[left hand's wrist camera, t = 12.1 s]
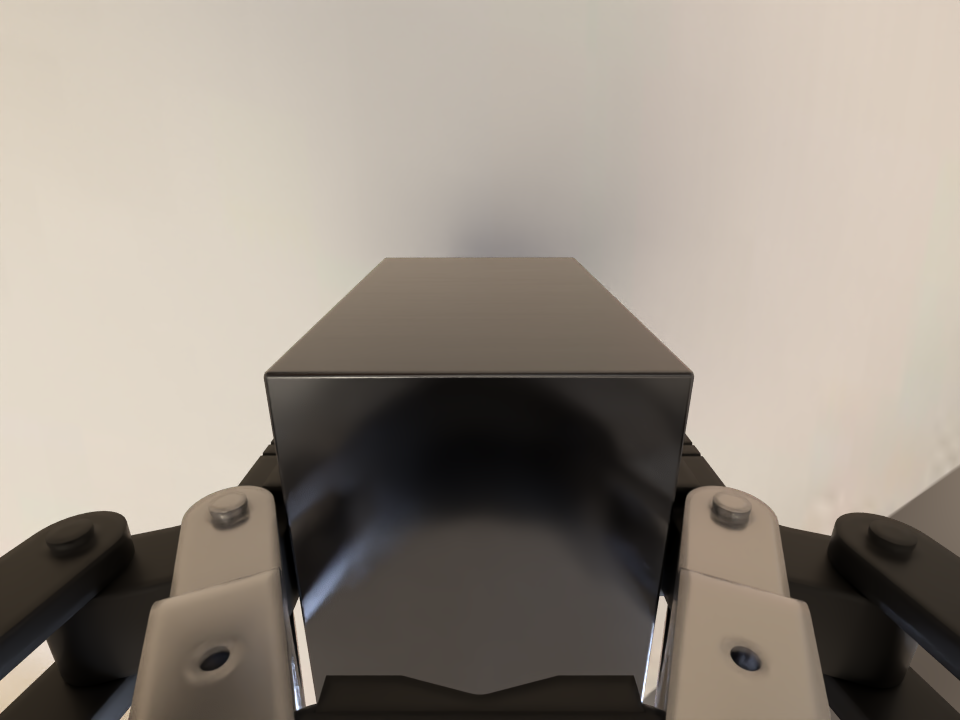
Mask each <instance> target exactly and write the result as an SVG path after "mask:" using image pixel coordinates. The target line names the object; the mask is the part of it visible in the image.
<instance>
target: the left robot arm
mask: <svg viewBox="0 0 960 720" xmlns="http://www.w3.org/2000/svg"><path fill="white" fill-rule="evenodd" d="M659 596H664V597H665V599H666V602H667V604H668V606H667V612H666V617H665V624H664V632H663V640H662V648H661V656H660V664H659V672H658V680H657V689H656V697H655V705H654V707H653V706H650V705H646V704H643V703H642V701H641V697H640V694H639V691H638V687H637V684H636V681H635V677H634V675H558V676H554V677H550V678H546V679H542V680H538V681H535V682H531V683H527V684H523V685H519V686H515V687H511V688H508V689H504V690H500V691H496V692H492V693H488V694H472V693H468V692H464V691H460V690H456V689H452V688H449V687H445V686H441V685H437V684H433V683H429V682H425V681H422V680H418V679H414V678H410V677H406V676H402V675H326V677H325V681H324V684H323V687H322V691H321V694H320V697H319V701H318V703H317V704H314V705H310V706H307V707H306V705H305V697H304V689H303V680H302V672H301V664H300V656H299V648H298V640H297V632H296V624H295V617H294V612H293V610H294V607H295V605H296V603H297V600H298V598H299V591H298V585H297V579H296V573H295V566H294V560H293V554H292V548H291V542H290V536H289V530H288V523H287V517H286V511H285V505H284V499H283V493H282V487H281V480H280V474H279V468H278V462H277V456H276V450H275V443H274V439H273V440H272V441H271V445H268V447H267V448H266V449H265V451H264V452H263V456H260V457H259V459H258V460H257V461H256V463H255V464H254V465H253V467H252V468H251V469H250V471H249V472H248V473H247V475H246V476H245V477H244V479H243V480H242V481H241V483H240V484H239V485H238V486H237V487H231V488H227V489H223V490H220V491H217V492H214V493H212V494H210V495H208V496H206V497H204V498H202V499H201V500H199V501H198V502H196V503H195V504H194V505H192V506H191V507H190V508H189V509H188V511H187V512H186V513H185V515H184V516H183V519H182V523H181V525H180V526H175V527H171V528H166V529H161V530H156V531H151V532H146V533H141V534H136V535H131V534H130V531H129V527H128V524H127V521H126V519H125V517H124V516H122V515H121V514H119V513H116V512H111V511H96V512H89V513H84V514H80V515H76V516H73V517H69V518H67V519H64V520H61V521H59V522H56V523H54V524H52V525H50V526H48V527H46V528H44V529H42V530H41V531H39V532H37V533H36V534H34V535H33V536H31V537H30V538H28V539H27V540H25V541H24V542H22V543H21V544H20V545H18V546H17V547H15V548H14V549H12V550H11V551H9V552H8V553H6V554H5V555H3V556H2V557H0V680H2V679H3V678H4V677H5V676H6V675H7V674H8V673H9V672H10V671H12V670H13V669H14V668H15V667H16V666H17V665H18V664H19V663H21V662H22V661H23V660H24V659H25V658H26V657H27V656H28V655H29V654H31V653H32V652H33V651H34V650H35V649H36V648H37V647H38V646H40V645H41V644H42V643H43V642H44V641H45V640H47V643H48V645H49V648H50V650H51V652H52V655H53V657H54V660H55V662H54V663H53V664H52V665H51V666H50V667H49V668H48V669H47V670H46V671H45V672H44V673H43V674H42V675H41V676H40V677H39V678H37V679H36V680H35V681H34V682H33V683H32V684H31V685H30V686H29V687H28V688H27V689H26V690H25V691H24V692H23V693H22V694H21V695H20V696H19V697H18V698H16V699H15V700H14V701H13V702H12V703H11V704H10V705H9V706H8V707H7V708H6V709H5V710H4V711H3V712H2V713H1V714H0V720H120V719H121V717H122V716H123V715H124V714H125V712H126V711H127V710H128V709H129V708H130V706H131V709H130V714H129V719H128V720H832V719H831V714H830V709H829V706H830V708H831V709H832V710H833V711H834V712H835V714H836V715H837V716H838V717H839V718H840V720H960V714H959V713H958V712H957V711H956V710H955V709H954V708H953V707H952V706H951V705H950V704H949V703H948V702H947V701H946V700H945V699H944V698H942V697H941V696H940V695H939V694H938V693H937V692H936V691H935V690H934V689H933V688H932V687H931V686H930V685H929V684H928V683H927V682H926V681H925V680H924V679H922V678H921V677H920V676H919V675H918V674H917V673H916V672H915V671H914V670H913V669H912V668H911V667H910V666H909V665H910V663H911V660H912V658H913V655H914V653H915V651H916V648H917V646H918V644H919V645H921V646H922V647H923V648H924V649H925V650H926V651H927V652H928V653H929V654H931V655H932V656H933V657H934V658H935V659H936V660H937V661H938V662H939V663H941V664H942V665H943V666H944V667H945V668H946V669H947V670H948V671H950V672H951V673H952V674H953V675H954V676H955V677H956V678H957V679H959V680H960V557H958V556H957V555H955V554H954V553H952V552H951V551H949V550H948V549H946V548H945V547H943V546H942V545H940V544H939V543H938V542H936V541H935V540H933V539H932V538H930V537H929V536H927V535H925V534H924V533H922V532H921V531H919V530H917V529H915V528H913V527H911V526H909V525H907V524H905V523H902V522H900V521H897V520H894V519H891V518H888V517H884V516H880V515H876V514H870V513H848V514H844V515H842V516H840V517H839V518H838V519H837V520H836V522H835V526H834V529H833V532H832V535H831V536H828V535H823V534H818V533H813V532H808V531H803V530H798V529H793V528H789V527H785V526H781V525H779V523H778V519H777V516H776V515H775V513H774V512H773V511H772V509H771V508H770V507H769V506H768V505H766V504H765V503H764V502H762V501H761V500H759V499H758V498H756V497H754V496H752V495H750V494H748V493H746V492H743V491H740V490H737V489H733V488H729V487H726V486H725V485H724V484H723V482H722V481H721V480H720V478H719V477H718V476H717V475H716V473H715V472H714V471H713V469H712V468H711V467H710V465H709V464H708V463H707V461H706V460H705V459H704V458H703V456H701V455H700V452H699V451H698V450H697V448H696V447H695V446H694V445H692V442H691V440H690V439H689V438H688V437H687V435H686V434H685V437H684V443H683V450H682V456H681V462H680V469H679V475H678V481H677V488H676V494H675V500H674V507H673V513H672V519H671V526H670V532H669V538H668V544H667V551H666V557H665V563H664V570H663V576H662V582H661V589H660V595H659Z"/></svg>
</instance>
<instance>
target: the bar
mask: <svg viewBox="0 0 960 720" xmlns="http://www.w3.org/2000/svg"><path fill="white" fill-rule="evenodd" d="M693 380H694V374H693V372H692V371H691V370H690V369H689V368H688V367H687V366H686V365H685V364H684V363H683V362H682V361H681V360H680V359H679V358H678V357H677V356H676V355H675V354H674V353H672V352H671V351H670V350H669V349H668V348H667V347H666V346H665V345H664V344H663V343H662V342H661V341H660V340H659V339H658V338H657V337H656V336H655V335H654V334H653V333H652V332H651V331H650V330H649V329H647V328H646V327H645V326H644V325H643V324H642V323H641V322H640V321H639V320H638V319H637V318H636V317H635V316H634V315H633V314H632V313H631V312H630V311H629V310H628V309H627V308H626V307H625V306H623V305H622V304H621V303H620V302H619V301H618V300H617V299H616V298H615V297H614V296H613V295H612V294H611V293H610V292H609V291H608V290H607V289H606V288H605V287H604V286H603V285H602V284H601V283H600V282H598V281H597V280H596V279H595V278H594V277H593V276H592V275H591V274H590V273H589V272H588V271H587V270H586V269H585V268H584V267H583V266H582V265H581V264H580V263H579V262H578V261H577V260H576V259H575V258H385V259H384V260H383V261H381V262H380V263H379V264H378V265H377V266H376V267H375V268H374V269H373V270H372V271H371V272H370V273H369V274H368V275H367V276H366V277H365V278H364V279H363V280H362V281H360V282H359V283H358V284H357V285H356V286H355V287H354V288H353V289H352V290H351V291H350V292H349V293H348V294H347V295H346V296H345V297H344V298H343V299H342V300H341V301H340V302H338V303H337V304H336V305H335V306H334V307H333V308H332V309H331V310H330V311H329V312H328V313H327V314H326V315H325V316H324V317H323V318H322V319H321V320H320V321H319V322H317V323H316V324H315V325H314V326H313V327H312V328H311V329H310V330H309V331H308V332H307V333H306V334H305V335H304V336H303V337H302V338H301V339H300V340H299V341H298V342H296V343H295V344H294V345H293V346H292V347H291V348H290V349H289V350H288V351H287V352H286V353H285V354H284V355H283V356H282V357H281V358H280V359H279V360H278V361H277V362H275V363H274V364H273V365H272V366H271V367H270V368H269V369H268V370H267V371H266V372H265V374H264V382H265V388H266V394H267V400H268V407H269V413H270V419H271V425H272V431H273V437H274V443H275V450H276V456H277V462H278V468H279V474H280V480H281V487H282V493H283V499H284V505H285V511H286V517H287V523H288V530H289V536H290V542H291V548H292V554H293V560H294V566H295V573H296V579H297V585H298V591H299V597H300V603H301V609H302V616H303V622H304V628H305V634H306V640H307V646H308V653H309V659H310V665H311V671H312V677H313V683H314V689H315V696H316V702H317V703H318V701H319V697H320V694H321V691H322V687H323V684H324V681H325V677H326V675H402V676H406V677H410V678H414V679H418V680H422V681H425V682H429V683H433V684H437V685H441V686H445V687H449V688H452V689H456V690H460V691H464V692H468V693H472V694H488V693H492V692H496V691H500V690H504V689H508V688H511V687H515V686H519V685H523V684H527V683H531V682H535V681H538V680H542V679H546V678H550V677H554V676H558V675H634V677H635V681H636V684H637V687H638V691H639V694H640V697H641V701H642V702H643V696H644V690H645V683H646V677H647V671H648V664H649V658H650V652H651V645H652V639H653V633H654V627H655V620H656V614H657V608H658V601H659V595H660V589H661V582H662V576H663V570H664V563H665V557H666V551H667V544H668V538H669V532H670V526H671V519H672V513H673V507H674V500H675V494H676V488H677V481H678V475H679V469H680V462H681V456H682V450H683V443H684V437H685V431H686V424H687V418H688V412H689V406H690V399H691V393H692V387H693Z"/></svg>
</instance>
